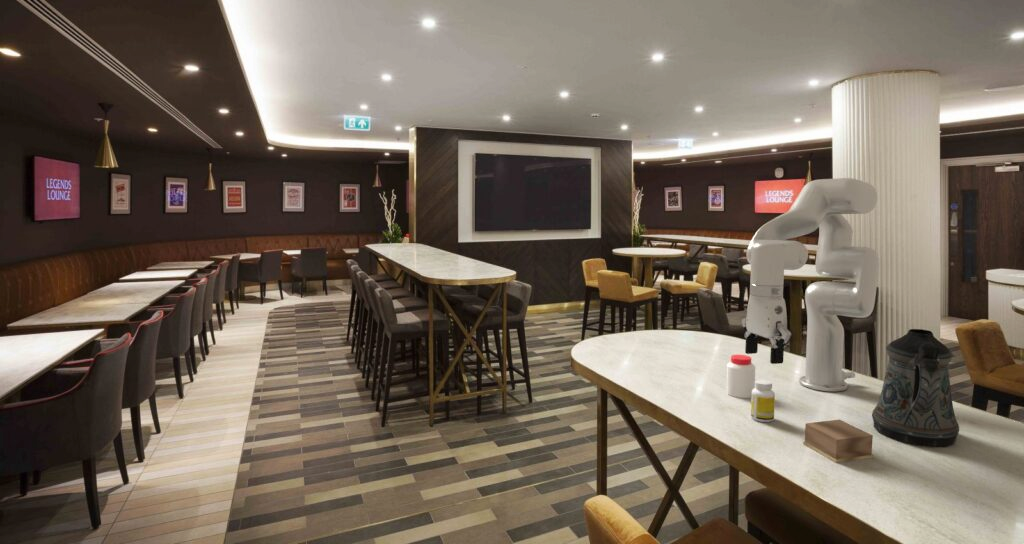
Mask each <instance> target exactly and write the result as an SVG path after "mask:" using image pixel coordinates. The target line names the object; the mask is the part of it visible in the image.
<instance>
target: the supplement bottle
mask: <svg viewBox="0 0 1024 544" xmlns="http://www.w3.org/2000/svg"><path fill="white" fill-rule="evenodd" d="M775 397H776V394H775V392H774V391H773V382H772V381H771V380H768V379H755V388H754V389H753V390H752V397H751V398H750V401H751V402H750V405H751V406H750V408H751V409H750V417H751V419H753V421H756V422H760V423H771V422H773V421H774V420H775V404H776V403H775V400H776V398H775Z"/></svg>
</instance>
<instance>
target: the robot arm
mask: <svg viewBox="0 0 1024 544" xmlns="http://www.w3.org/2000/svg"><path fill="white" fill-rule="evenodd" d="M877 203H878V193H877V190H876V188H875V187H874V185H872V183H869V182H866V181H863V180H861V179H857V178H853V177H852V178H851V177H842V178H841V177H840V178H838V177H837V178H823V179H822V178H821V179H814V180H811V181H809V182H807V183H806V184H805V185H804V186H803V187H802V189H801V191H800V192H799V193H798V195H797V196H796V198H795V200H794V202H793V203H792V205H791V207H790V208H789V210H788V211H786V212H784V213H782V214H780V215H778V216H776V217H774V218H773V219H771V220H769V221H768V222H766V223H765V224H763V225H762V226H761V227H760V228H758V230H756V232H755V234H754V235H753V236H752V238H751V239H750V242H749V243H748V246H747V248H746V255H745V256H746V260H747V262H748V263H749V265H750V279H749V280H750V281H749V282H750V283H749V284H750V285H749V297H748V303H747V309H746V317H744V318H742V319H741V325H742V331H743V332H744V338H745V349H744V350H745V351H744V352H745V354H747V355H749V354H757V353H758V352H759V351H758V348H759V347H758V346H759V345H758V344H759V338H758V337H762V338H765V339H769V341H770V343H771V347H770V355H769V357H770V361H769V363H770V364H772V365H777V364H784V351H785V348H786V347H787V344H788V343H789V342H790V341H789V340H790V338H791V336H792V333H791V331H790V330H789V329H788V318H787V314H788V313H787V306H786V300H785V298H784V280H785V279H784V277H785V274H784V273H785V270H786V271H795V270H799V269H801V268H803V267H804V266H805V264H806V263H807V261H808V258H809V251H808V248H807V247H806V246H805V245H804V244H803V243H802V242H800V241H797V240H791V239H795V238H798V237H801V236H804V235H809V234H811V233H813V232H815V231H816V230H817V229H819V230H818V231H819V232H818V233H819V235H818V241H817V248H816V256H815V257H816V258H815V270H816V271H815V272H816V273H817V274H818V275H820V276H822V277H827V278H835V279H848V280H854V281H855V283H845V282H836V281H835V282H834V281H827V280H825V281H814V282H813V283H810V284H809V285H808V286H807V287H806V289H805V293H804V301H805V307H806V315H807V316H806V317H807V324H806V325H807V326H806V327H807V328H806V329H807V331H806V352H805V375H802V376H800V377H799V381H798V382H799V384H800V385H802V386H804V387H806V388H807V389H812V390H815V391H820V392H821V391H822V392H831V393H832V392H834V393H835V392H843V391H845V390H848V383H847V382H846V381H845V380H848V379H854V378H856V373H855V372H854V371H846V372H845V371H844V370H843V359H844V357H843V356H844V354H843V353H844V339H845V329H844V326H843V323H842V322H841V321H840V319H839V317H838V316H844V317H850V318H858V319H860V318H868V317H869V316H871V314H872V313H873V311H874V307H875V303H876V296H877V286H878V279H879V274H880V273H879V272H880V258H879V254H878V252H877V251H876V250H875V249H874V248H872V247H870V246H869V247H867V246H852V240H853V239H852V238H853V233H854V231H853V230H854V229H853V227H852V225H851V224H850V223H849V221H848V220H847V219H846V217H844V215H866V214H869V213H871V212H872V211H873V210H874V209H875V208H876V206H877Z"/></svg>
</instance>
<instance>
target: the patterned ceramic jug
mask: <svg viewBox="0 0 1024 544" xmlns="http://www.w3.org/2000/svg"><path fill="white" fill-rule="evenodd" d="M885 350H886V355H887V356H888V363H887V366H886V371H885V373H884V374H885V375H884V379H883V384H882V388H881V392H880V395H879V398H878V401H877V403H876V406H875V407H874V409H873V410H872V413H871V417H872V420H873V421H872V422H873V427H874V429H875V430H876V431H877V433H879V434H880V435H882V436H884V437H886V438H888V439H890V440H893V441H896V442H899V443H904V444H907V445H908V444H909V445H911V446H912V445H913V446H917V447H924V448H925V447H926V448H932V449H933V448H948V447H951V446H954V445H955V443H956V441H957V438H958V436H959V433H960V424H959V422H958V421H957V418H956V415H955V410H954V404H953V397H952V396H953V395H952V390H951V382H950V381H951V380H950V379H951V378H950V373H949V364H950V362H952V358H953V357H954V356H953V352H952V351H951V350H950V348H948V347H947V346H946V345H945V344H944V343H942V342H941V341H940V340H939V339H937V338H936V337H935V336H934V333H933V332H932V331H931V330H928V329H923V328H922V329H921V328H920V329H919V328H911V329H909V330H908V331H907V333H906V334H904V335H902V336H900V337H898V338H897V339H894V340H893V341H890V342H889V343H888V344H887V345H886V347H885Z"/></svg>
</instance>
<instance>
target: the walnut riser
mask: <svg viewBox="0 0 1024 544" xmlns="http://www.w3.org/2000/svg"><path fill="white" fill-rule="evenodd" d="M804 427H805V428H804V440H803V442H802V443H803V445H805V446H806V447H807V448H809V449H811V450H813V451H815V452H816V453H818V454H819V455H822V456H823V457H825V458H827V459H828V460H830V461H832V462H834V464H837V463H842V462H843V463H844V462H850V461H851V462H852V461H859V460H865V459H867V460H868V459H873V458H874V454H872V453H873V440H874V438H873V437H874V435H873V434H871V433H869V432H866V431H865V430H862V429H860V428H859V427H856V426H854V425H853V424H849V423H848V422H846V421H843V420H841V419H833V420H825V421H816V422H806V423H805V426H804Z"/></svg>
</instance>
